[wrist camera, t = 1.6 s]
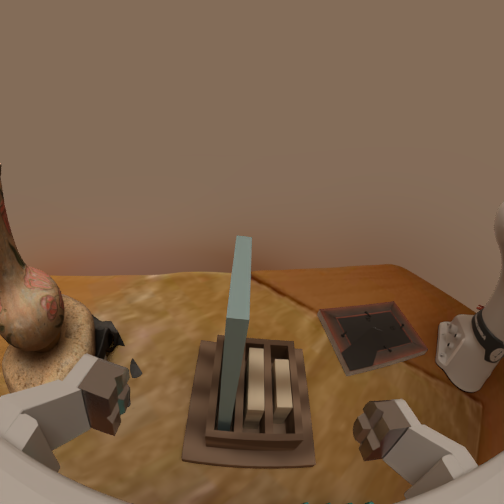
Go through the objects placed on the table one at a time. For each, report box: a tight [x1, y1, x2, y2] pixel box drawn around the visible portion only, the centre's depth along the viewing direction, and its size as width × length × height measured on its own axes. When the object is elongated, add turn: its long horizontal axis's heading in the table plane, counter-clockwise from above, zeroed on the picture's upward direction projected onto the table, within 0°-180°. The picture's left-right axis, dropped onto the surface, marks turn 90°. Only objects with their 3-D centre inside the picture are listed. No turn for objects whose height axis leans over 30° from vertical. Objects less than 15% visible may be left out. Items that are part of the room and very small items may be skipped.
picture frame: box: [317, 301, 428, 376], centre depth 52 cm, size 16×2×22 cm
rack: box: [182, 335, 316, 468], centre depth 36 cm, size 22×18×6 cm
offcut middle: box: [242, 348, 264, 429], centre depth 35 cm, size 10×2×7 cm, turn 179°
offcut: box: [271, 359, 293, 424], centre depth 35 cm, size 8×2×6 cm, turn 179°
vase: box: [0, 163, 142, 407], centre depth 27 cm, size 24×22×35 cm
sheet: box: [218, 236, 252, 431], centre depth 30 cm, size 12×2×24 cm, turn 179°
